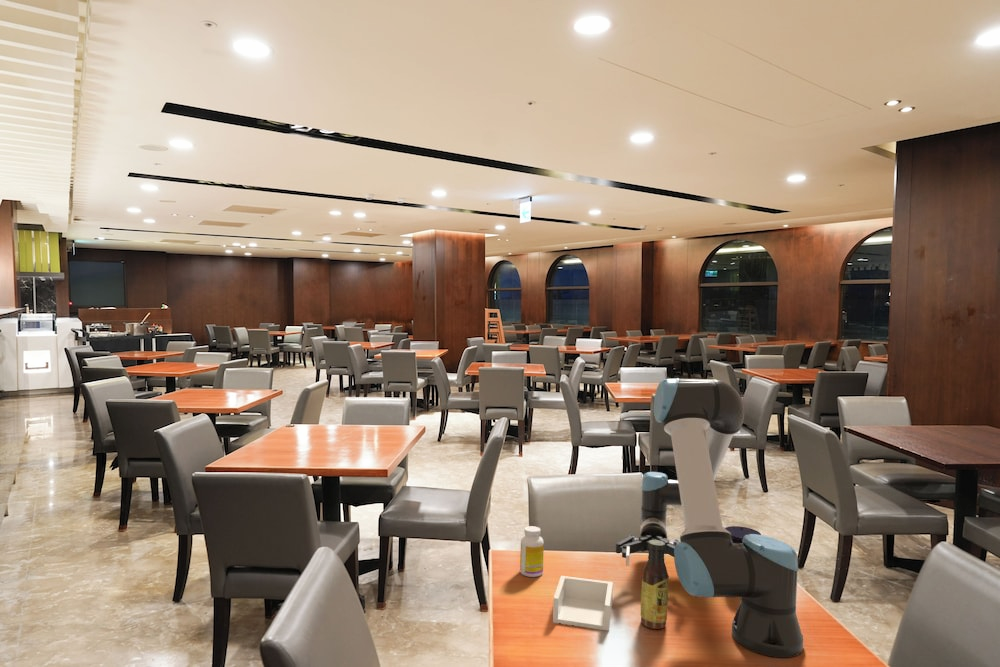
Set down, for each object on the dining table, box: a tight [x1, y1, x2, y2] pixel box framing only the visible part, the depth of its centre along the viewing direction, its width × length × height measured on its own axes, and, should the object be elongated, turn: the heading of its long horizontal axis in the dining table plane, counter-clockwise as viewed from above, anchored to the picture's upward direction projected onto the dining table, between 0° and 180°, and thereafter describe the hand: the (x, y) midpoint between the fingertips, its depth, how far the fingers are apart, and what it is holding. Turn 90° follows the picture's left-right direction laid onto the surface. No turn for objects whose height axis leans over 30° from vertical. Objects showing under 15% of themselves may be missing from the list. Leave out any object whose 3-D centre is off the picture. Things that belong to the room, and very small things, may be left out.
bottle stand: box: [552, 575, 614, 632], centre depth 149 cm, size 13×13×6 cm
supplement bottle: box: [519, 525, 545, 578], centre depth 172 cm, size 7×7×13 cm
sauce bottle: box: [640, 540, 670, 630], centre depth 145 cm, size 7×6×20 cm
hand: (654, 563), depth 154 cm, fingers open, 13 cm apart
